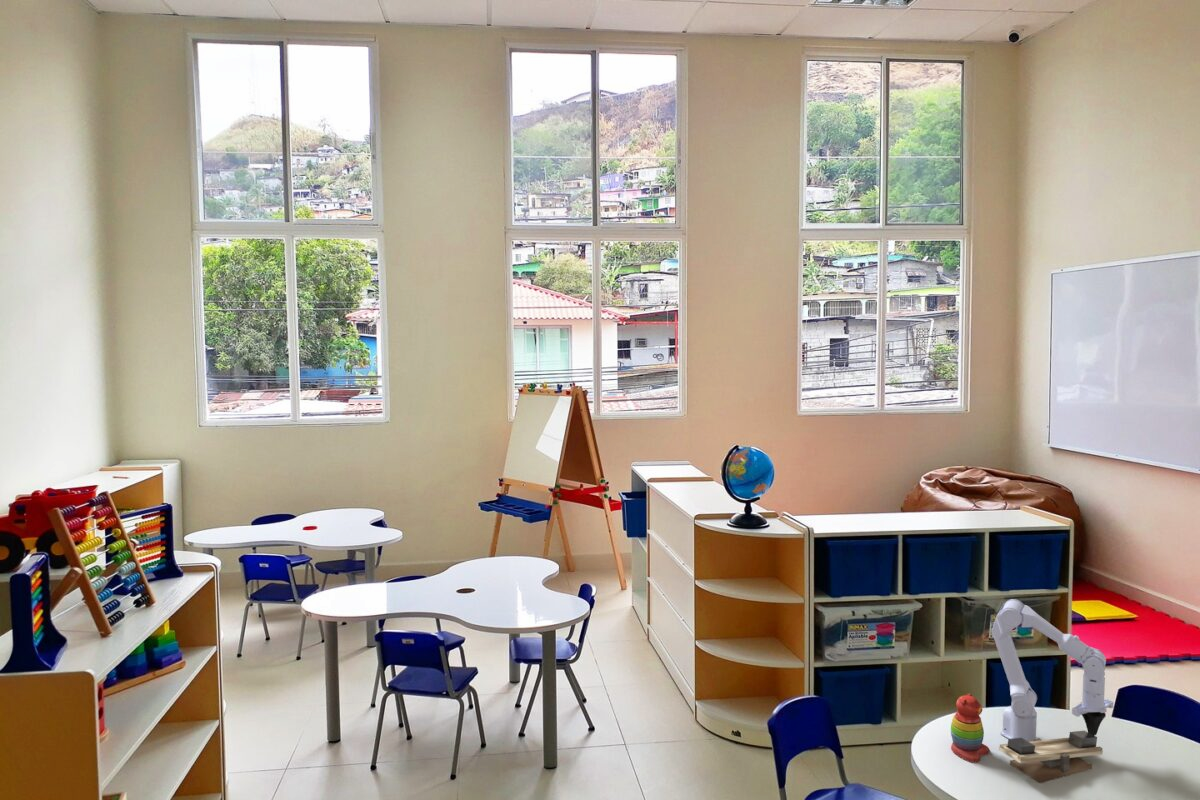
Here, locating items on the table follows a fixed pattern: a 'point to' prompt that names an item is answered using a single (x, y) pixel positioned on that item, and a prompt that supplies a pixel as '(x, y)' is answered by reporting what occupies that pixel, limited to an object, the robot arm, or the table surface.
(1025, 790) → the table surface
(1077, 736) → the block
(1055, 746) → the balance beam
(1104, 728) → the table surface
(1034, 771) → the beam stand
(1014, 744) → the block
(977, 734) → the stacking bear
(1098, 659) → the robot arm
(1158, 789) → the table surface
